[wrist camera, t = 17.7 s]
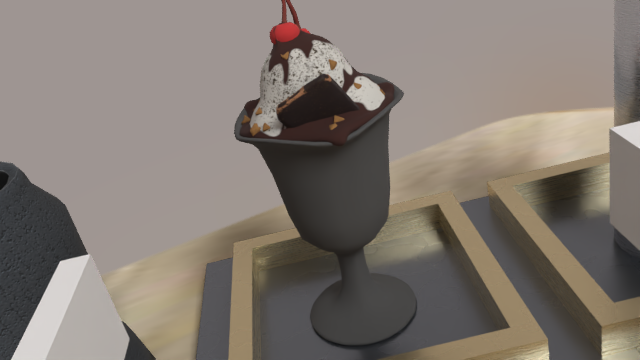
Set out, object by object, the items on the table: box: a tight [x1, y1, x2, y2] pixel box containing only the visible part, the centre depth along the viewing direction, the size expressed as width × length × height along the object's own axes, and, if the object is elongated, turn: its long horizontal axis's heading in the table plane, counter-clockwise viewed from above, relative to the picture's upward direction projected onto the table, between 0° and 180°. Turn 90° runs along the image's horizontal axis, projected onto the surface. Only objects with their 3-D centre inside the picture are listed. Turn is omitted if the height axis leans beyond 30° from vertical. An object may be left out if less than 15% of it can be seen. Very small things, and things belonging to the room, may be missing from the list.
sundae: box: [234, 0, 416, 346], centre depth 25 cm, size 7×7×15 cm
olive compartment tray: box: [196, 0, 640, 360], centre depth 25 cm, size 30×14×15 cm, turn 96°
